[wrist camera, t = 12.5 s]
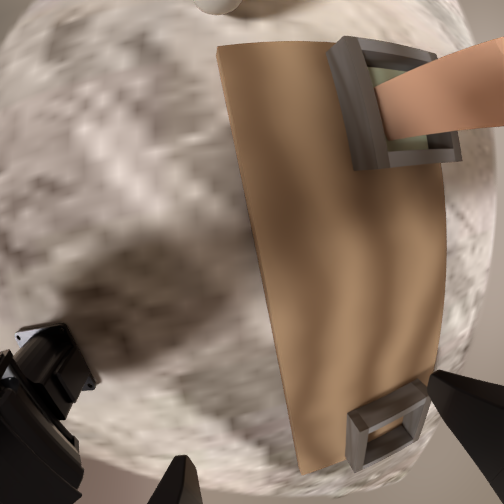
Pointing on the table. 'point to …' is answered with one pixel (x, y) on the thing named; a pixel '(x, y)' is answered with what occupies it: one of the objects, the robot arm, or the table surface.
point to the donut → (217, 6)
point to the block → (446, 94)
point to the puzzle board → (342, 239)
